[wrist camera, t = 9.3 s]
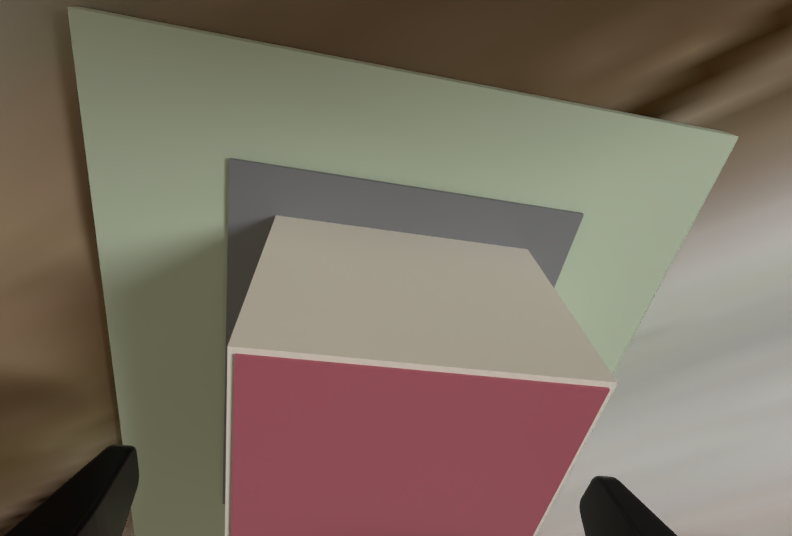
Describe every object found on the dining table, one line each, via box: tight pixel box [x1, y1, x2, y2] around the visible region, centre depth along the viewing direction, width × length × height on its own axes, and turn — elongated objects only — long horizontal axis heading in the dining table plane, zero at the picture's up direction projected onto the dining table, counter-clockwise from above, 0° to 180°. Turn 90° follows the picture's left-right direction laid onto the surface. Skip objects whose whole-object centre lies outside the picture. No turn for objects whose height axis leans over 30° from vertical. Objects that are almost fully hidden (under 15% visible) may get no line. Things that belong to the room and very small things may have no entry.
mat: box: [67, 7, 739, 536], centre depth 12 cm, size 12×14×1 cm
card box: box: [225, 215, 618, 536], centre depth 10 cm, size 8×5×4 cm, turn 170°
